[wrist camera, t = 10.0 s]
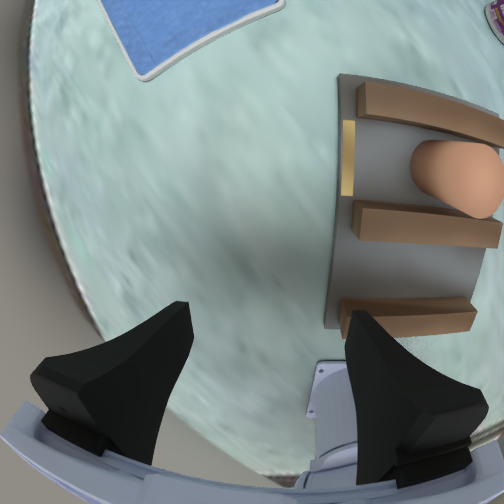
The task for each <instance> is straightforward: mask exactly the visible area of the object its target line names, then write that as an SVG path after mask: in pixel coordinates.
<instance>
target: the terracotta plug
mask: <svg viewBox="0 0 504 504" xmlns="http://www.w3.org/2000/svg"><path fill="white" fill-rule="evenodd" d="M410 170H411V175H412V179H413V181H414V183H415V184H416V186H417V187H418V188H419V189H420V190H421V191H422V192H424V193H425V194H428V195H430V196H432V197H434V198H436V199H438V200H440V201H443V202H445V203H447V204H449V205H451V206H453V207H455V208H457V209H459V210H461V211H463V212H464V213H466V214H468V215H470V216H472V217H474V218H478V219H483V218H487V217H489V216H491V215H492V214H493V213H494V212H495V211H496V210H497V209H498V207H499V206H500V204H501V202H502V199H503V196H504V167H503V164H502V161H501V159H500V157H499V155H498V154H497V153H496V151H495V150H494V149H492V148H491V147H490V146H488V145H486V144H481V143H471V142H460V141H446V140H426V141H423V142H422V143H420V144H419V145H418V146H417V147H416V148H415V150H414V152H413V154H412V157H411V162H410Z"/></svg>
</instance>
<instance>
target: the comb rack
mask: <svg viewBox="0 0 504 504" xmlns="http://www.w3.org/2000/svg"><path fill="white" fill-rule="evenodd" d="M337 80H338V118H339V139H338V178H337V199H336V214H335V228H334V240H333V250H332V260H331V269H330V278H329V286H328V294H327V301H326V309H325V315H324V328H325V329H341V334H342V339H346V338H347V334H348V329H349V325H350V320H351V315H352V310H366V311H367V312H368V313H369V314H370V315H371V316H372V317H373V318H374V319H375V320H376V321H377V322H378V323H379V324H380V325H381V326H382V327H383V328H384V329H385V330H386V331H387V332H388V333H389V334H390V335H391V336H392V337H393V338H397V337H413V336H427V335H438V334H448V333H457V332H465V331H470V329H471V326H472V324H473V322H474V319H475V317H476V314H477V312H478V311H477V310H476V309H475V308H474V307H473V305H472V304H471V303H470V301H471V298H472V295H473V292H474V289H475V286H476V283H477V279H478V276H479V273H480V269H481V266H482V262H483V258H484V254H485V250H486V248H496V249H497V248H498V244H499V240H500V235H501V230H502V225H503V223H502V222H500V221H498V220H496V219H494V218H492V216H493V214H492V215H491V216H489V217H487V218H483V219H478V218H474V217H472V216H470V215H468V214H466V213H464V212H463V211H461V210H459V209H457V208H455V207H453V206H451V205H449V204H447V203H445V202H443V201H440V200H438V199H436V198H434V197H432V196H430V195H428V194H425V193H424V192H422V191H421V190H420V189H419V188H418V187H417V186H416V184H415V183H414V181H413V179H412V175H411V170H410V162H411V157H412V154H413V152H414V150H415V148H416V147H417V146H418V145H419V144H420V143H422V142H423V141H426V140H446V141H460V142H471V143H481V144H486V145H488V146H490V147H491V148H492V149H494V150H495V151H496V153H497V154H498V155H499V148H503V149H504V120H502V119H500V118H499V114H497V113H495V112H493V111H490V110H488V109H485V108H483V107H480V106H478V105H475V104H473V103H470V102H467V101H464V100H461V99H458V98H455V97H452V96H449V95H446V94H443V93H439V92H436V91H432V90H428V89H425V88H421V87H417V86H413V85H408V84H404V83H399V82H394V81H389V80H384V79H378V78H372V77H365V76H358V75H350V74H341V73H340V74H339V75H338V77H337Z"/></svg>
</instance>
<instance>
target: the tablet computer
mask: <svg viewBox="0 0 504 504" xmlns="http://www.w3.org/2000/svg"><path fill="white" fill-rule="evenodd" d="M97 2H98V4H99V6H100V8H101V10H102V12H103V14H104V16H105V18H106V20H107V22H108V24H109V26H110V28H111V30H112V32H113V34H114V36H115V38H116V40H117V42H118V44H119V46H120V48H121V50H122V51H123V54H124V56H125V57H126V59H127V61H128V63H129V65H130V67H131V69H132V71H133V73H134V75H135V77H136V78H137V79H138V80H140V81H142V82H145V81H149V80H151V79H153V78H154V77H156V76H157V75H159V74H160V73H162V72H163V71H165V70H166V69H168V68H169V67H171V66H173V65H174V64H176V63H177V62H179V61H180V60H182V59H184V58H185V57H187V56H189V55H190V54H192V53H194V52H195V51H197V50H199V49H200V48H202V47H204V46H206V45H208V44H209V43H211V42H213V41H215V40H217V39H219V38H221V37H222V36H224V35H226V34H228V33H230V32H232V31H234V30H236V29H238V28H240V27H243V26H245V25H247V24H249V23H251V22H253V21H256V20H258V19H260V18H262V17H265V16H267V15H269V14H272V13H274V12H277V11H279V10H281V9H282V8H283V7H284V6H285V3H286V1H285V0H97Z"/></svg>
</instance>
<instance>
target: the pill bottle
mask: <svg viewBox="0 0 504 504" xmlns="http://www.w3.org/2000/svg"><path fill="white" fill-rule="evenodd" d="M486 17H487V20H488V22H489V24H490V26H491V28H492V30H493V31H494V33H495V34H496V36H497V37H498V38H499V40H500V41H501V42H502V43H503V44H504V0H495V1H493V2H491V3H490V4H488V5H487V6H486Z"/></svg>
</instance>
